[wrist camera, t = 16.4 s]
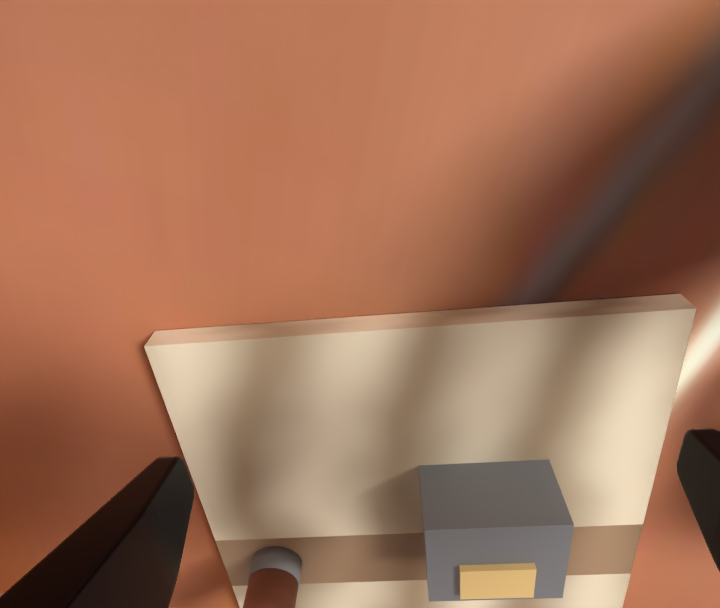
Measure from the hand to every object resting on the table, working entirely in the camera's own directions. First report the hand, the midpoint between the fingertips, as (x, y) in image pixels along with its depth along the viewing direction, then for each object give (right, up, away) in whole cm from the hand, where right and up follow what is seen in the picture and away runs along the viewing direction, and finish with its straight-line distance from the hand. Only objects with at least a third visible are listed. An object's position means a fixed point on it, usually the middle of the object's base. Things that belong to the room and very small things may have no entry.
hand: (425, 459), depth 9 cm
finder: (+5, -7, +16) cm, 18 cm away
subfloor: (+2, -6, +17) cm, 18 cm away
